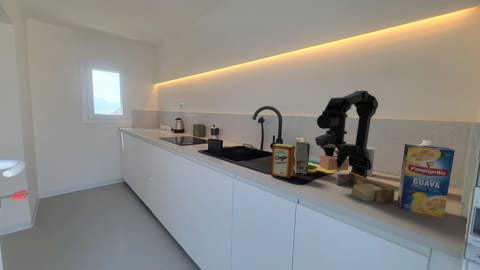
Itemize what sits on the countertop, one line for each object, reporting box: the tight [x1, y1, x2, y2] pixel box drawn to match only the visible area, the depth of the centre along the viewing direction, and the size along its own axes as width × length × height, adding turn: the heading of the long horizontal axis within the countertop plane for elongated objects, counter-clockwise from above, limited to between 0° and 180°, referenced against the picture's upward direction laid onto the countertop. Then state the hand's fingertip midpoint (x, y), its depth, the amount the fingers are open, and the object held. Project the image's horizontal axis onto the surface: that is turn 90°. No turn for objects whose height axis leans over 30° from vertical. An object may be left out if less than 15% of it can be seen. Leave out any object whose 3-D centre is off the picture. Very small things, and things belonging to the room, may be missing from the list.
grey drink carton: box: [294, 141, 311, 175], centre depth 105 cm, size 9×6×16 cm
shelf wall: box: [348, 171, 396, 204], centre depth 81 cm, size 6×21×5 cm, turn 11°
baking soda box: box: [270, 143, 296, 179], centre depth 98 cm, size 10×6×16 cm
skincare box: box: [366, 146, 375, 177], centre depth 106 cm, size 8×6×15 cm
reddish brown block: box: [319, 155, 349, 171], centre depth 81 cm, size 9×6×4 cm, turn 99°
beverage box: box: [396, 143, 456, 219], centre depth 66 cm, size 7×11×22 cm, turn 57°
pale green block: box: [350, 184, 382, 202], centre depth 76 cm, size 9×7×4 cm
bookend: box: [330, 173, 354, 186], centre depth 90 cm, size 8×5×5 cm, turn 101°
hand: (333, 165), depth 82 cm, fingers closed on reddish brown block, 6 cm apart
